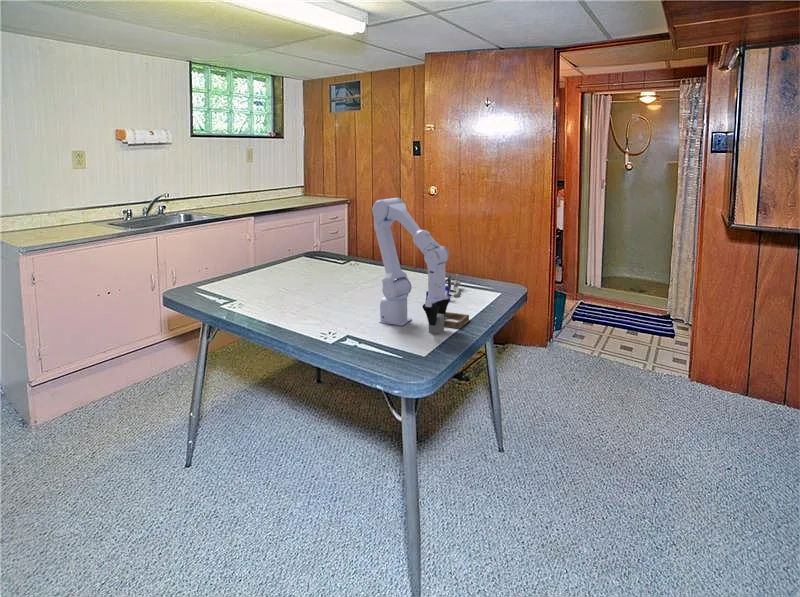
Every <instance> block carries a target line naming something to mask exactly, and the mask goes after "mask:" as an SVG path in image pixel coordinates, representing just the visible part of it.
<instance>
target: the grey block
mask: <svg viewBox="0 0 800 597" xmlns="http://www.w3.org/2000/svg"><path fill="white" fill-rule="evenodd" d="M444 320H445V318H444V314H439V313H437V320H436V325H435V326H433V325H429V324H428V333H429V334H433V335H434V334H435V335H441V334H442V333H443V332H445V326H444Z"/></svg>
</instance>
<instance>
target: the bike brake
mask: <svg viewBox="0 0 800 597" xmlns="http://www.w3.org/2000/svg"><path fill="white" fill-rule="evenodd" d="M452 285H453V290H454V291H455V293H454V294H451V293H449V298H451V297H452V296H453V298H457V297H458V296H461V295H460V294H459V292H460V290H459V287H460V286H461V281H460V280H459V274H458V273H456V274H455V279H454V281H452V275H451V274H449V275H448V277H447V286H449V292H450V291H451V288H452Z"/></svg>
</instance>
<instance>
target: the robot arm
mask: <svg viewBox="0 0 800 597" xmlns="http://www.w3.org/2000/svg"><path fill="white" fill-rule="evenodd" d="M371 211H372V212H371V213H372V215H373V228H374V230H375V235H376V240H377V242H378V248H379V251H380V255H381V256H380V257H381V258H382V263H383V267H384V271H385V274H384V276H383V277H382V279H381V282H382V290H381V291H382V294H383V297H382V298H381V299H380V303H379V310H380V313H379V314H380V317H379V319H380V320H379V323H382V324H389V325H395V326H404V325H406V324H407V323H409V322H410V321H412V319H413V318H412V317H408V297H409V294H410V293H411V291H412V282H411V281H410V279H409V278H408V275H407V273H406V272H405V271H403V270H402V269H401V264H400V260H399V256H398V252H397V248H396V244H395V240H394V236H393V233H392V228H391V226H392V225H393V223H394V222H395V221H398V222H399V223H400V225H402V227H404V228H405V229H406V231H408V233H409V234H411V236H412V242H413V244H415V247H417V249H419V251H420V252H421V253H422V254H423V255H424V256H423V259H424V262H425V264H426V266H427V267H426V269H427V277H428V278H427V280H428V281H427V286H428V287H427V291H428V296H427V300H426V299H425V302H424V303H423V304H422V309H423V310H424V312H425V315H426V318H427V322H428V326H429V325H433V326H435V325H436V320H437V313H439V314H444V317H445V313H446V312H447V309H448V306H449V303H450V301H451V297H448V296H447V291H445V286H446V263H447V262H448V261H449V259H450V258H449V257H450V254H449V251H448V248H447V247H446V246H443V245H440V244H439V243H438V242H437V241H436V240H435V239H434V238H433V237H432V235H431V233H430V231H428V230H426V229H421V228H420V226H419V225H418V223H417V222H416V221H415V220H414V218H413V217H412V215H411V214H410V213H409V211H408V210H407V205H406V204H405V202H403V200H402V199H401V198H400V197H393V198H392V197H391V198H383V199H377V200H376V201H375V202H374V203H373V206H372V207H371ZM434 303H435V304H436V306H435V305H434Z"/></svg>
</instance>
